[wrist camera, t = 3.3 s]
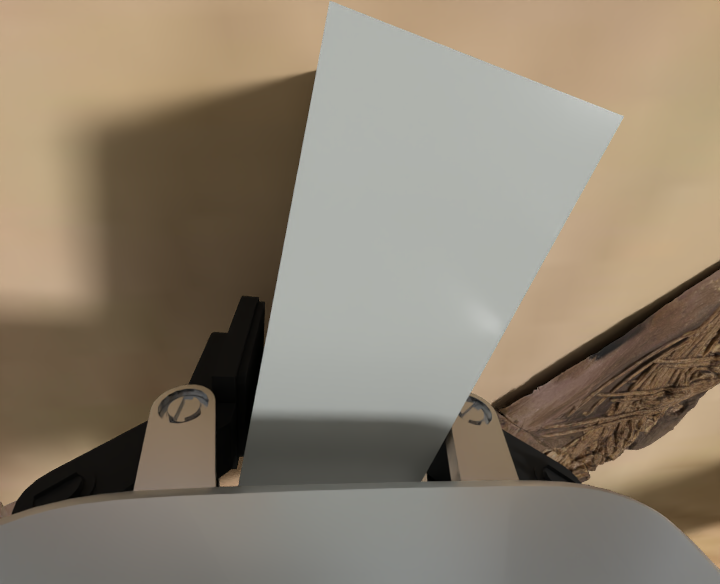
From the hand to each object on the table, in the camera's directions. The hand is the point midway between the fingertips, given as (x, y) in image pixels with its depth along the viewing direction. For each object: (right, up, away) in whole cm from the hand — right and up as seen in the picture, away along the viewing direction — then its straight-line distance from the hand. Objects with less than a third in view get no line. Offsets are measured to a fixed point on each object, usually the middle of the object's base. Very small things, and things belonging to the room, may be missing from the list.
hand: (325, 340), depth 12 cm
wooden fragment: (+14, -5, +7) cm, 16 cm away
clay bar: (0, +1, +1) cm, 2 cm away
